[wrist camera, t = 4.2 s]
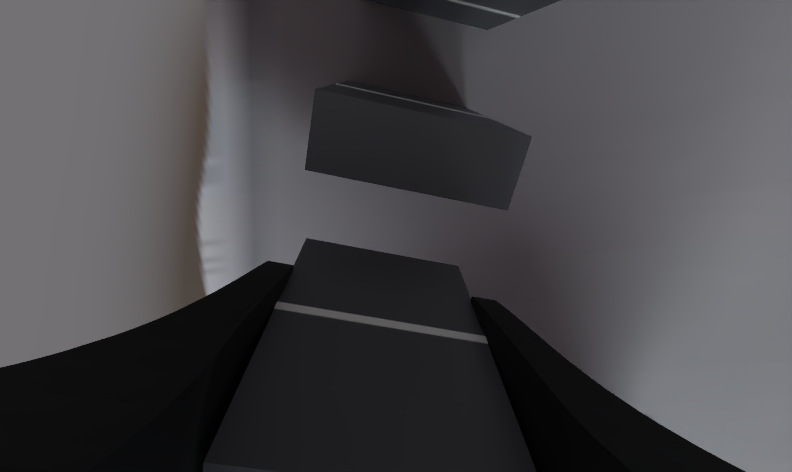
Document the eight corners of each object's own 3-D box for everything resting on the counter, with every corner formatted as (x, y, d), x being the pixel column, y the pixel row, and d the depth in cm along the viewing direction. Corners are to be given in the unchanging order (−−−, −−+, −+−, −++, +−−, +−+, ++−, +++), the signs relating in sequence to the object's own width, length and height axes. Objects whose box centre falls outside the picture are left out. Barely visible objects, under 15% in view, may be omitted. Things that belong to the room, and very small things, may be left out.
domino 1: (454, 152, 15) (507, 211, 9) (339, 127, 15) (304, 171, 8) (466, 107, 15) (532, 136, 8) (346, 80, 14) (316, 87, 8)
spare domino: (444, 313, 12) (510, 579, 6) (299, 288, 12) (198, 547, 5) (458, 265, 12) (550, 504, 5) (306, 237, 11) (202, 461, 5)
